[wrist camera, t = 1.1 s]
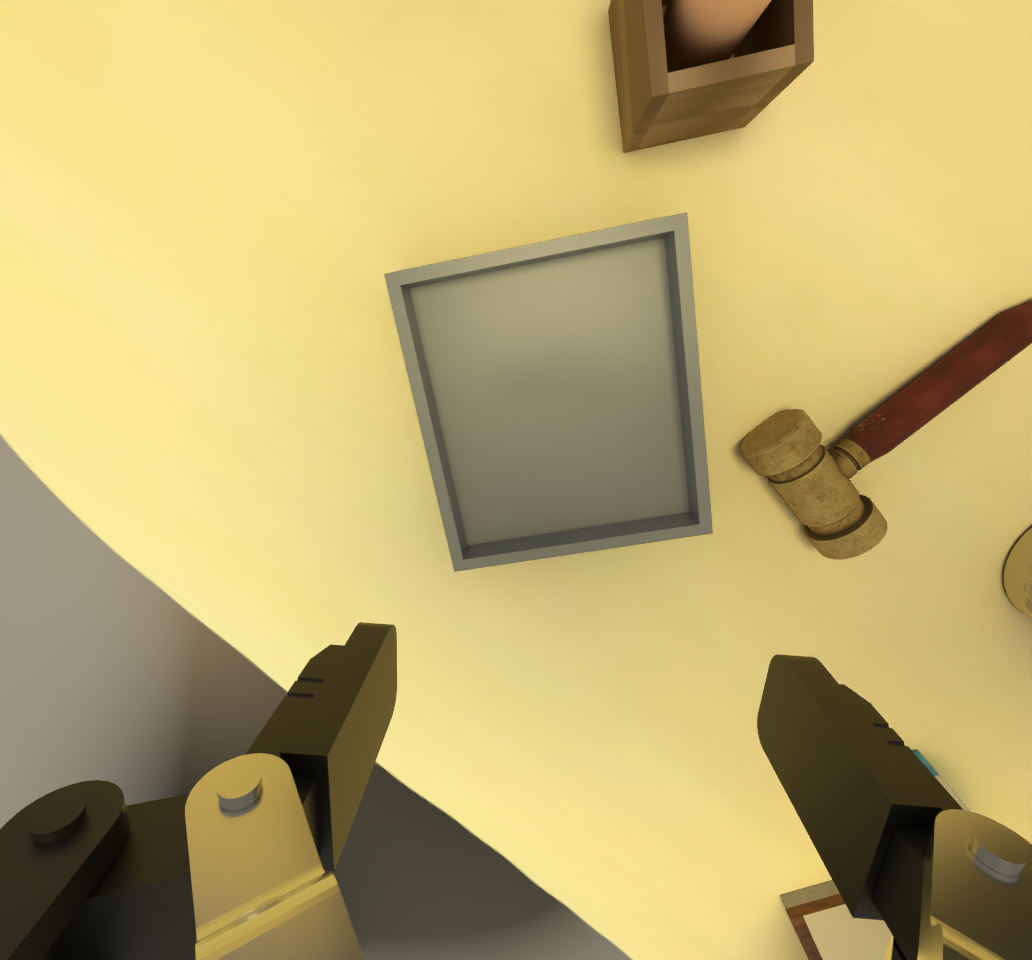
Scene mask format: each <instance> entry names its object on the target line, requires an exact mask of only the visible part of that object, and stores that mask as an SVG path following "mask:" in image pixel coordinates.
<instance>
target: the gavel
mask: <svg viewBox="0 0 1032 960" xmlns="http://www.w3.org/2000/svg"><path fill="white" fill-rule="evenodd" d="M1031 343H1032V300H1030V301H1029V302H1027V303H1025V304H1022V305H1020V306H1017V307H1015V308H1012V309H1010V310H1007V311H1005V312H1002V313H1001V314H999V315H998V316H997V317H995V318H994V319H993V320H991V321H990V322H989V323H988V324H986V325H985V326H984V327H983V328H981V329H980V330H979V331H977V332H976V333H975V334H974V335H972V336H971V337H970V338H968V339H967V340H966V341H965V342H963V343H962V344H961V345H959V346H958V347H957V348H956V349H954V350H953V351H952V352H951V353H949V354H948V355H947V356H945V357H944V358H943V359H942V360H940V361H939V362H938V363H936V364H935V365H934V366H933V367H931V368H930V369H929V370H927V371H926V372H925V373H924V374H922V375H921V376H920V377H919V378H917V379H916V380H915V381H913V382H912V383H911V384H910V385H908V386H907V387H906V388H904V389H903V390H902V391H901V392H899V393H898V394H897V395H895V396H894V397H893V398H892V399H890V400H889V401H888V402H887V403H885V404H884V405H883V406H881V407H880V408H879V409H878V410H876V411H875V412H874V413H872V414H871V415H870V416H869V417H867V418H866V419H865V420H863V421H862V422H861V423H860V424H858V425H857V426H856V427H855V428H854V429H853V430H852V432H851V433H850V434H849V435H848V436H847V437H846V438H845V439H844V440H843V441H842V442H841V443H839V444H838V445H837V446H835V448H834V449H831V450H830V451H827V450H826V448H825V447H824V446H822V445H820V442H821V439H822V435H821V433H820V431H819V430H818V429H817V427H816V426H815V425H814V423H813V422H812V420H811V419H810V418H809V416H808V415H807V414H806V413H805V411H803V410H801V409H794V410H786V411H783V412H780V413H777V414H775V415H773V416H771V417H769V418H768V419H766V420H765V421H764V422H762V423H761V424H760V425H758V426H757V427H756V428H755V429H753V430H752V431H751V432H749V433H748V434H747V436H746V437H745V438H744V440H743V442H742V444H741V446H740V452H741V454H742V455H743V457H744V458H745V459H746V460H747V462H748V463H749V464H750V465H751V467H752V468H753V469H754V471H755V472H756V473H757V474H759V475H762V476H768V480H769V482H770V483H771V484H772V485H773V487H774V488H775V489H776V490H777V492H778V493H779V494H780V495H781V497H782V498H783V499H784V501H785V502H786V503H787V504H788V506H789V507H790V508H791V509H792V511H793V512H794V513H795V514H796V516H797V517H798V518H799V519H800V521H801V522H802V523H803V524H805V525H804V533H805V534H806V536H807V537H808V538H809V540H810V541H811V542H812V543H813V545H814V546H815V547H816V549H817V550H818V551H819V552H820V553H821V554H822V555H823V556H825V557H827V558H830V559H848V558H852V557H855V556H858V555H861V554H863V553H865V552H867V551H869V550H870V549H872V548H873V547H874V546H876V545H877V544H878V543H879V542H880V541H881V540H882V539H883V537H884V535H885V534H886V531H887V522H886V520H885V518H884V517H883V516H882V514H881V513H880V512H879V510H878V509H877V507H876V506H875V505H874V503H873V502H872V501H871V500H870V499H869V498H868V497H866V496H863V495H859V493H858V491H857V490H856V488H855V487H854V486H853V484H852V483H851V482H850V480H849V479H850V478H851V477H852V476H853V475H855V474H856V473H857V470H861V469H862V468H863V467H864V466H866V465H867V464H868V463H870V462H872V461H873V460H875V459H877V458H879V457H881V456H883V455H885V454H887V453H888V452H890V451H891V450H892V449H894V448H895V447H896V446H898V445H899V444H900V443H901V442H903V441H904V440H905V439H907V438H908V437H909V436H911V435H912V434H913V433H915V432H916V431H917V430H919V429H920V428H921V427H922V426H924V425H925V424H926V423H928V422H929V421H930V420H932V419H933V418H934V417H936V416H937V415H938V414H939V413H941V412H942V411H943V410H945V409H946V408H947V407H949V406H950V405H951V404H953V403H954V402H955V401H957V400H958V399H959V398H960V397H962V396H963V395H964V394H966V393H967V392H968V391H970V390H971V389H972V388H974V387H975V386H976V385H977V384H979V383H980V382H981V381H983V380H984V379H985V378H987V377H988V376H989V375H991V374H992V373H993V372H994V371H996V370H997V369H998V368H1000V367H1001V366H1002V365H1004V364H1005V363H1006V362H1008V361H1009V360H1010V359H1012V358H1013V357H1014V356H1015V355H1017V354H1018V353H1019V352H1021V351H1022V350H1023V349H1025V348H1026V347H1027V346H1029V345H1030V344H1031Z"/></svg>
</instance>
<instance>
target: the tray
mask: <svg viewBox="0 0 1032 960" xmlns="http://www.w3.org/2000/svg"><path fill="white" fill-rule="evenodd" d="M384 275H385V279H386V283H387V288H388V292H389V296H390V300H391V305H392V309H393V313H394V317H395V322H396V326H397V330H398V334H399V339H400V343H401V347H402V351H403V356H404V360H405V364H406V368H407V373H408V377H409V381H410V385H411V389H412V394H413V398H414V402H415V406H416V411H417V415H418V419H419V423H420V428H421V432H422V436H423V440H424V445H425V449H426V453H427V457H428V462H429V466H430V470H431V474H432V478H433V483H434V487H435V491H436V495H437V500H438V504H439V508H440V512H441V517H442V521H443V525H444V529H445V534H446V538H447V542H448V546H449V551H450V555H451V559H452V563H453V567H454V572H455V571H462V570H469V569H475V568H482V567H489V566H495V565H502V564H509V563H516V562H522V561H529V560H536V559H543V558H549V557H556V556H563V555H570V554H576V553H583V552H590V551H596V550H603V549H610V548H617V547H623V546H630V545H637V544H644V543H650V542H657V541H664V540H671V539H677V538H684V537H691V536H697V535H704V534H711V533H713V530H712V518H711V505H710V493H709V480H708V468H707V455H706V443H705V430H704V418H703V405H702V393H701V380H700V368H699V355H698V343H697V330H696V318H695V305H694V293H693V280H692V268H691V255H690V243H689V230H688V218H687V213H682V214H677V215H672V216H667V217H662V218H657V219H652V220H647V221H643V222H638V223H633V224H628V225H623V226H618V227H613V228H608V229H603V230H598V231H593V232H588V233H583V234H579V235H574V236H569V237H564V238H559V239H554V240H549V241H544V242H539V243H534V244H529V245H524V246H519V247H514V248H510V249H505V250H500V251H495V252H490V253H485V254H480V255H475V256H470V257H465V258H460V259H455V260H450V261H446V262H441V263H436V264H431V265H426V266H421V267H416V268H411V269H406V270H401V271H396V272H391V273H386V274H384Z"/></svg>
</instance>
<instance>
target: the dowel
mask: <svg viewBox="0 0 1032 960" xmlns="http://www.w3.org/2000/svg"><path fill="white" fill-rule="evenodd" d="M770 2H771V0H670V1H669V3H668V5H667V8H666V10H665V13H664V15H663V24H664V36H665V48H666V60H667V72H668V73H670V72H674V71H679V70H683V69H688V68H692V67H696V66H701V65H705V64H710V63H714V62H718V61H723V60H727V59H729V58H730V57H731V56H732V54H733V53H734V52H735V50H736V49H737V47H738V46H739V45H740V43H741V42H742V40H743V39H744V38H745V36H746V35H747V34H748V32H749V31H750V29H751V28H752V27H753V25H754V24H755V22H756V21H757V20H758V18H759V17H760V16H761V14H762V13H763V11H764V10H765V9H766V7H767V6H768V4H769V3H770Z"/></svg>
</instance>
